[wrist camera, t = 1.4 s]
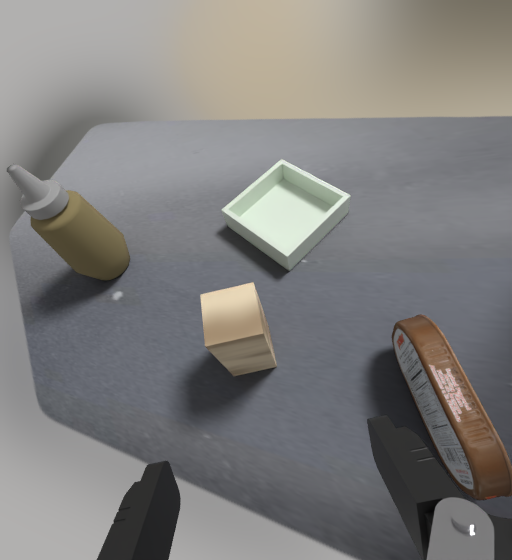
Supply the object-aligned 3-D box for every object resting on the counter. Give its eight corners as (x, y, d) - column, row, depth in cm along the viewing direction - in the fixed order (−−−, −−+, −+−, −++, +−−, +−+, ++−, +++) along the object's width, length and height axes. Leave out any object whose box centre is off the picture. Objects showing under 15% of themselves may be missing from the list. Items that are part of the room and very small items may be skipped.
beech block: (228, 335, 38) (200, 294, 29) (268, 326, 38) (253, 282, 29) (234, 376, 36) (205, 346, 26) (276, 366, 35) (263, 333, 26)
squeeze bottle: (125, 233, 49) (40, 130, 34) (146, 266, 45) (60, 167, 30) (79, 261, 48) (-32, 168, 33) (96, 298, 44) (-21, 212, 29)
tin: (484, 490, 27) (546, 501, 20) (449, 498, 27) (497, 512, 20) (408, 331, 35) (432, 298, 28) (380, 338, 35) (397, 307, 28)
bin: (283, 177, 50) (281, 159, 47) (348, 213, 44) (350, 195, 41) (227, 226, 47) (221, 210, 44) (289, 271, 41) (287, 256, 38)
